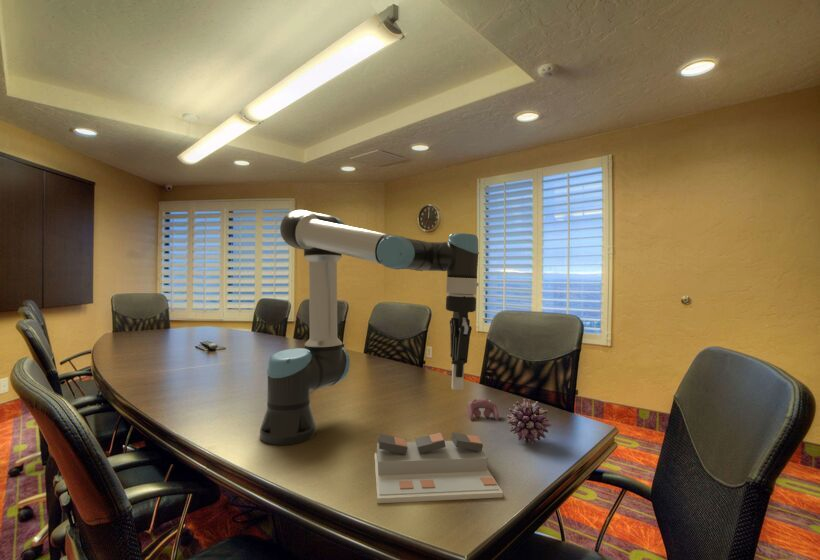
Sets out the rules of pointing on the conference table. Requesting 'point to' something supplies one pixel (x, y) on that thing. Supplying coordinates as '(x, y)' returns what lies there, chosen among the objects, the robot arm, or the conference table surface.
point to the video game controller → (482, 403)
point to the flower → (528, 421)
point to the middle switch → (430, 442)
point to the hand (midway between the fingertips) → (457, 388)
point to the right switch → (466, 441)
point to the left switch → (392, 444)
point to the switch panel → (433, 475)
